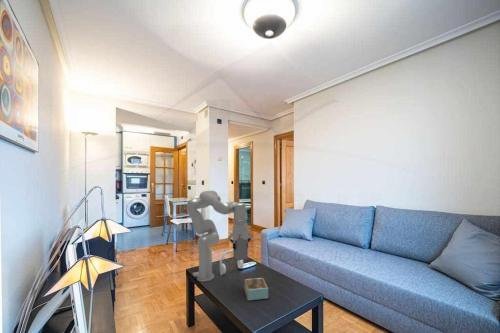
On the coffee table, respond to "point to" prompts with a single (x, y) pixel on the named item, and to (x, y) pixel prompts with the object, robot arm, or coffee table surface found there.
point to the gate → (257, 294)
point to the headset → (222, 265)
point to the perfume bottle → (240, 249)
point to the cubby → (254, 284)
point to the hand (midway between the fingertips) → (240, 248)
